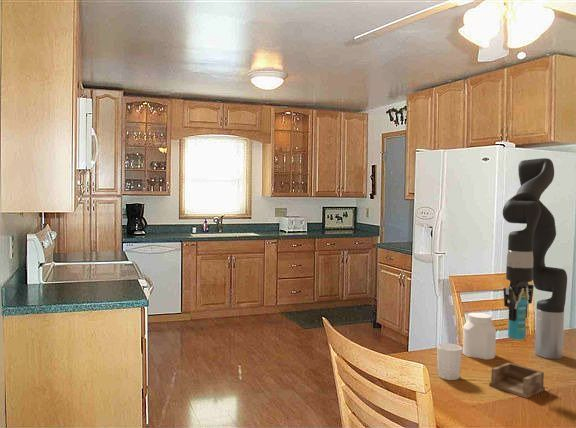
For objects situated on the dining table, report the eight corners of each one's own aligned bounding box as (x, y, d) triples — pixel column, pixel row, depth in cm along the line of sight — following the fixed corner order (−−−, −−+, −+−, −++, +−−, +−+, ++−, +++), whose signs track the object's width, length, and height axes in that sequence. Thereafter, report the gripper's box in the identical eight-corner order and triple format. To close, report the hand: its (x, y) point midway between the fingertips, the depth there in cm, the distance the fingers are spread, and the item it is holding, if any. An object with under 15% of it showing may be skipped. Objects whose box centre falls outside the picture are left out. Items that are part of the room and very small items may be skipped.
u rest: (507, 378, 168) (508, 361, 168) (544, 389, 159) (545, 372, 158) (489, 385, 161) (489, 368, 161) (526, 398, 152) (527, 380, 152)
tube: (516, 341, 156) (518, 278, 155) (502, 337, 160) (504, 276, 159) (530, 338, 160) (533, 277, 159) (516, 334, 164) (518, 274, 163)
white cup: (448, 382, 164) (449, 351, 163) (431, 374, 171) (431, 345, 170) (466, 378, 167) (467, 348, 167) (448, 371, 174) (449, 342, 174)
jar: (496, 353, 194) (497, 314, 193) (493, 360, 185) (495, 320, 185) (464, 348, 199) (465, 310, 199) (460, 355, 191) (461, 316, 190)
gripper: (520, 262, 166) (518, 313, 167) (495, 265, 157) (493, 319, 158) (543, 265, 160) (541, 318, 161) (519, 268, 151) (517, 325, 152)
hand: (517, 318), depth 159 cm, fingers closed on tube, 5 cm apart
